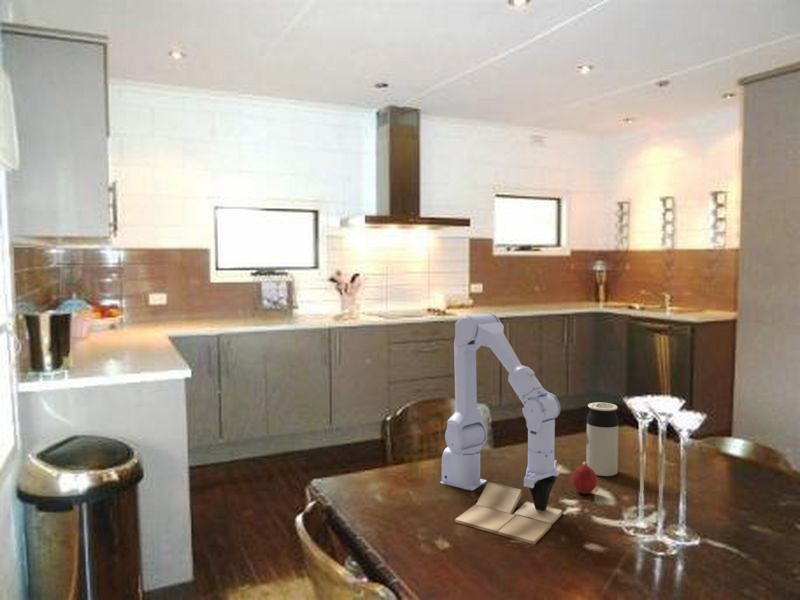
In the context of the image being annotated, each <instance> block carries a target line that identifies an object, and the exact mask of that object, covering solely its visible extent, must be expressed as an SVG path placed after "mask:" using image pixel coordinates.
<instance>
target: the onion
mask: <svg viewBox="0 0 800 600" xmlns="http://www.w3.org/2000/svg"><path fill="white" fill-rule="evenodd" d="M587 464H588V463H587V462H586V461H583V462H582V465H580V466H578V467H576V469H574V471H573V473H572V478H571V480H572V484H573V488H575V489H576V490H577V491H578V492H579V493H581V494H583V495H587V494H590V493H591V492H592V491H593V490H595V488H596V487H597V486H598V475H596V474H595V472H594V471H593V470H592V469H591V468H590V467H589V466H588V465H587Z"/></svg>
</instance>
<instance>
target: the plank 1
mask: <svg viewBox="0 0 800 600" xmlns="http://www.w3.org/2000/svg"><path fill="white" fill-rule="evenodd" d="M522 494H523V491H522V489H520V488H516V487H512V486H507V485H502V484H499V483H494V482H489V481H488V482H486V485H485V487H484V488H483V491H482V493H481V494H480V496H479V498H478V500H477V502H476V503H475V505H479V506H482V507H486V508H490V509H494V510H498V511H502V512H506V513H510V514H513V515H514V513H515V509H516V508H517V505H518V503H519V501H520V499H521V497H522Z"/></svg>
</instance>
